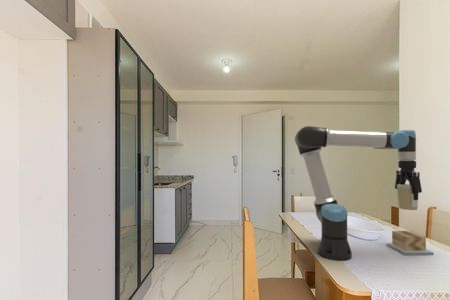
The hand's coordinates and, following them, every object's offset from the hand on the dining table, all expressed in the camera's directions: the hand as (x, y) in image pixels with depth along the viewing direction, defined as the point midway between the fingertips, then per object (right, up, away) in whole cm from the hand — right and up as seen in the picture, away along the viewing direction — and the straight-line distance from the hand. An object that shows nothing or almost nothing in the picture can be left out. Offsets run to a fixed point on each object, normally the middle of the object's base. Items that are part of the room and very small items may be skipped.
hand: (407, 204), depth 135 cm
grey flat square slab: (0, -23, -1) cm, 23 cm away
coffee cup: (0, -2, 0) cm, 2 cm away
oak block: (0, -22, 0) cm, 22 cm away
